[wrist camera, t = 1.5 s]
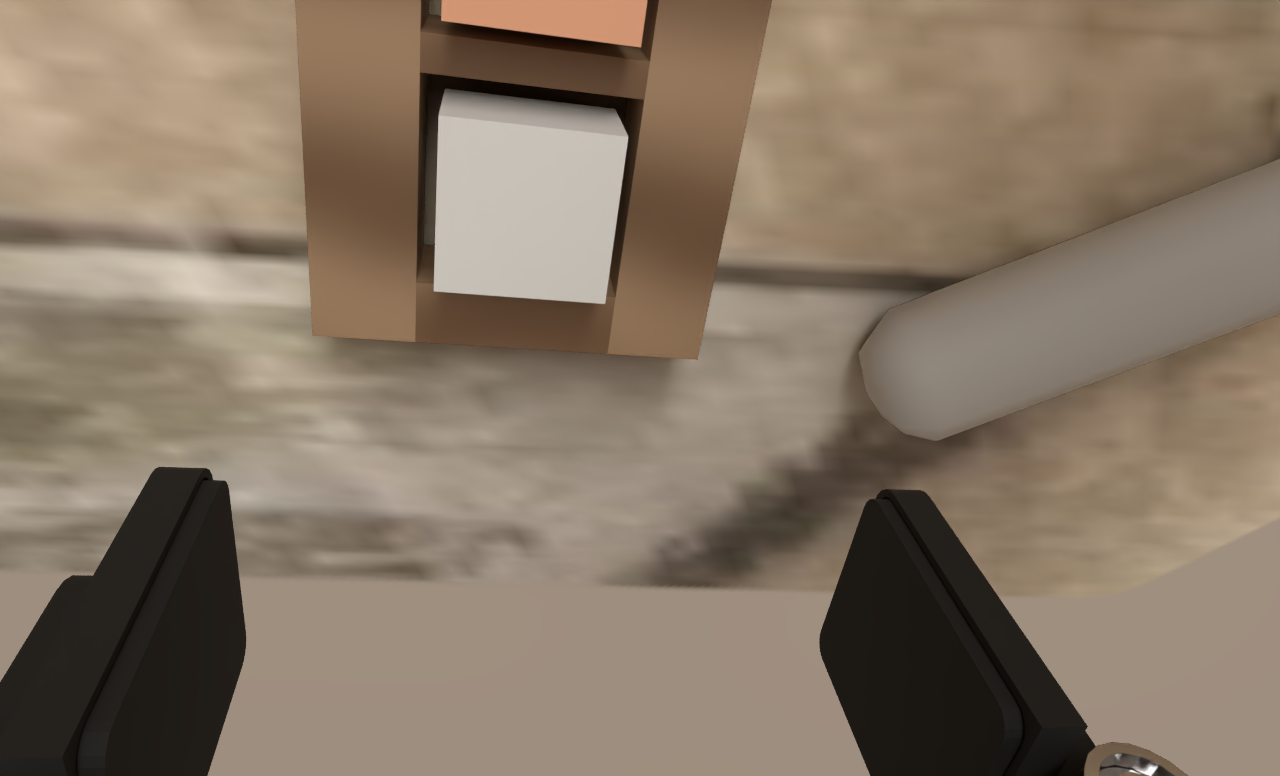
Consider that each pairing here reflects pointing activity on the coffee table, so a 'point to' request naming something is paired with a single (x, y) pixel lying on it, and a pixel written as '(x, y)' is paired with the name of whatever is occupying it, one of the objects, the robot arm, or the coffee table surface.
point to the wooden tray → (421, 43)
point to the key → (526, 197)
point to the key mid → (556, 17)
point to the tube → (1080, 310)
